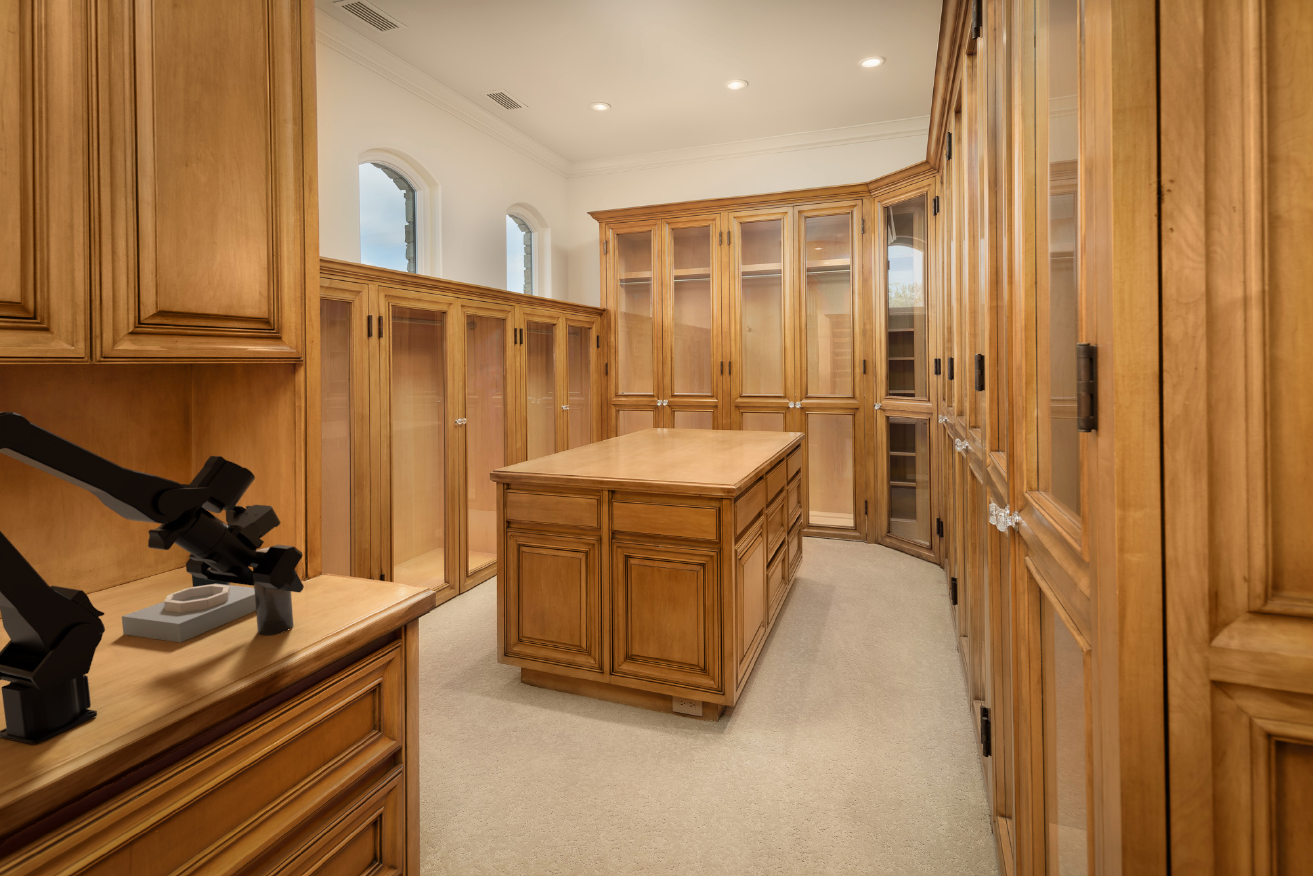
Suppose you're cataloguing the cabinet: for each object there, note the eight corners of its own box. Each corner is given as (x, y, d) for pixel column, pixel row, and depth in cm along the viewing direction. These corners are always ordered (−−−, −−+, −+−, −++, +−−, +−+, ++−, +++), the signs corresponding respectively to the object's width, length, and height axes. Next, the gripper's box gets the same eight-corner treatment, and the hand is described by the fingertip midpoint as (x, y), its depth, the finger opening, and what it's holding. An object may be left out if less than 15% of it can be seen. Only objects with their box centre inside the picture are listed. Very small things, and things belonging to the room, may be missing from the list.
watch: (235, 577, 130) (230, 524, 129) (224, 589, 122) (219, 534, 121) (202, 580, 128) (197, 527, 127) (189, 593, 120) (184, 536, 119)
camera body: (180, 642, 99) (177, 614, 98) (123, 634, 102) (120, 607, 101) (268, 605, 114) (266, 581, 113) (216, 599, 117) (214, 575, 117)
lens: (275, 636, 101) (269, 556, 99) (250, 633, 102) (243, 554, 100) (300, 624, 105) (295, 547, 104) (276, 621, 107) (270, 545, 105)
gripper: (287, 495, 94) (350, 548, 106) (198, 488, 101) (267, 539, 112) (240, 562, 88) (313, 611, 99) (149, 550, 94) (227, 597, 106)
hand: (280, 586), depth 104 cm, fingers open, 9 cm apart
